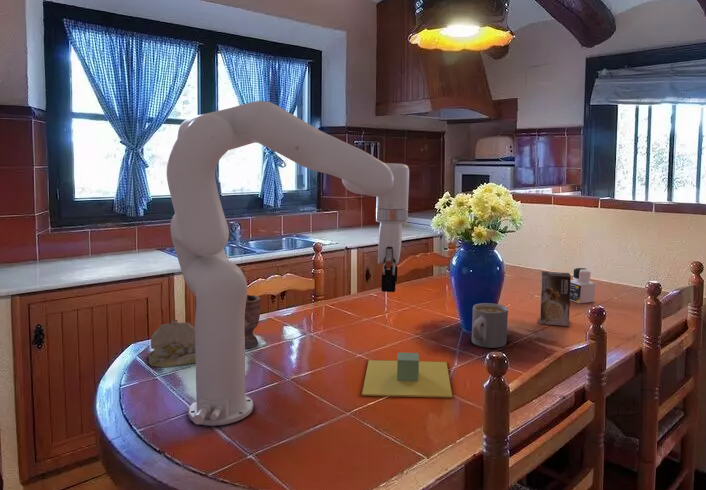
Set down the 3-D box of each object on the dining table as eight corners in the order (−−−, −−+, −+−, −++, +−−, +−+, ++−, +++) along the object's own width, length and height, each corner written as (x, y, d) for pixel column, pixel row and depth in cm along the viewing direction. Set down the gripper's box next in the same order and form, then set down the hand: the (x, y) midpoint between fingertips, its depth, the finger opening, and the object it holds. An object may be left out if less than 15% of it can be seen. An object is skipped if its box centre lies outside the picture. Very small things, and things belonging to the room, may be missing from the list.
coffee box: (568, 320, 182) (571, 272, 180) (569, 326, 176) (571, 276, 174) (539, 318, 184) (541, 270, 182) (539, 324, 178) (541, 274, 176)
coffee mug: (486, 333, 167) (487, 301, 166) (513, 342, 160) (515, 308, 159) (456, 343, 158) (457, 309, 157) (483, 353, 151) (484, 317, 150)
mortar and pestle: (216, 341, 155) (215, 271, 152) (244, 334, 161) (244, 266, 159) (238, 352, 147) (237, 278, 144) (266, 345, 153) (266, 273, 151)
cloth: (452, 397, 123) (452, 396, 123) (361, 395, 123) (361, 393, 123) (446, 363, 143) (446, 361, 143) (368, 361, 143) (368, 360, 143)
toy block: (418, 381, 131) (418, 360, 130) (397, 380, 131) (397, 360, 130) (418, 372, 135) (418, 352, 135) (397, 372, 135) (398, 352, 135)
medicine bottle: (566, 298, 209) (568, 267, 208) (581, 297, 212) (583, 266, 211) (579, 303, 203) (581, 271, 201) (594, 302, 206) (596, 270, 204)
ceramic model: (141, 369, 135) (140, 328, 134) (150, 352, 145) (149, 315, 144) (203, 364, 138) (202, 325, 137) (207, 348, 149) (206, 312, 148)
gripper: (378, 211, 140) (376, 278, 142) (372, 219, 123) (370, 295, 125) (408, 212, 140) (405, 279, 142) (406, 220, 123) (404, 296, 125)
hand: (389, 286), depth 133 cm, fingers open, 9 cm apart
